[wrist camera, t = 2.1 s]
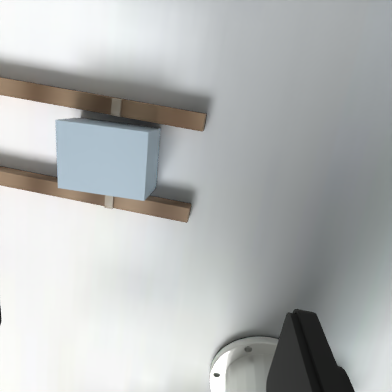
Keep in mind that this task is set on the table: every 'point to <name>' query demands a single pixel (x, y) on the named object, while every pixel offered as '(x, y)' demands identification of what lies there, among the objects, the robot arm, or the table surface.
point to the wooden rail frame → (105, 106)
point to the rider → (107, 157)
